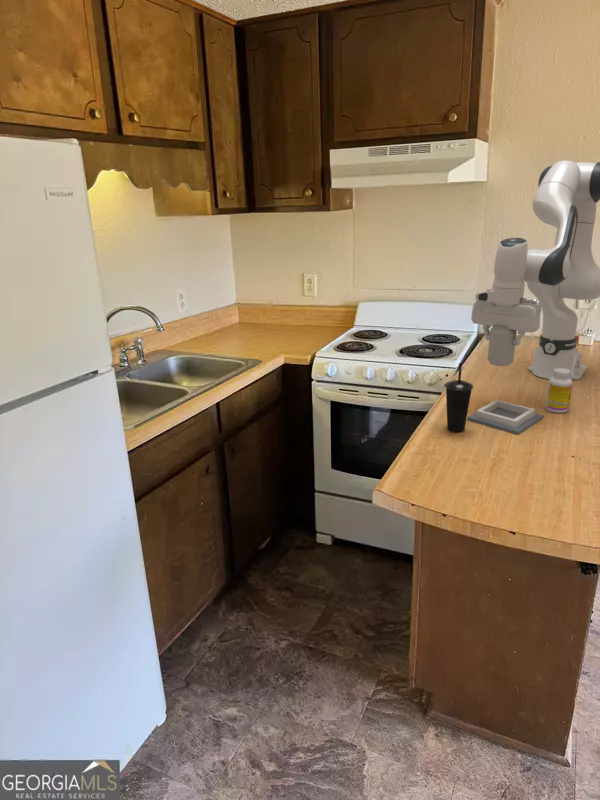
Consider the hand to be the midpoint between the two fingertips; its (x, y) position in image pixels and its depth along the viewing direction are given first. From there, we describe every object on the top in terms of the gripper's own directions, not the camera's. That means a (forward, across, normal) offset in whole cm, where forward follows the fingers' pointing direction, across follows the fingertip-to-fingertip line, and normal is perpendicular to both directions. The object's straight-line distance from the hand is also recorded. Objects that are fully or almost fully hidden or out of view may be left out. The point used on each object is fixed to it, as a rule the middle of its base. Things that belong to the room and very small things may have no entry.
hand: (502, 342), depth 171 cm
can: (+7, 0, 0) cm, 7 cm away
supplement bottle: (+22, -14, -13) cm, 29 cm away
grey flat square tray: (+22, -6, +5) cm, 23 cm away
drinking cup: (+22, +1, +21) cm, 31 cm away
